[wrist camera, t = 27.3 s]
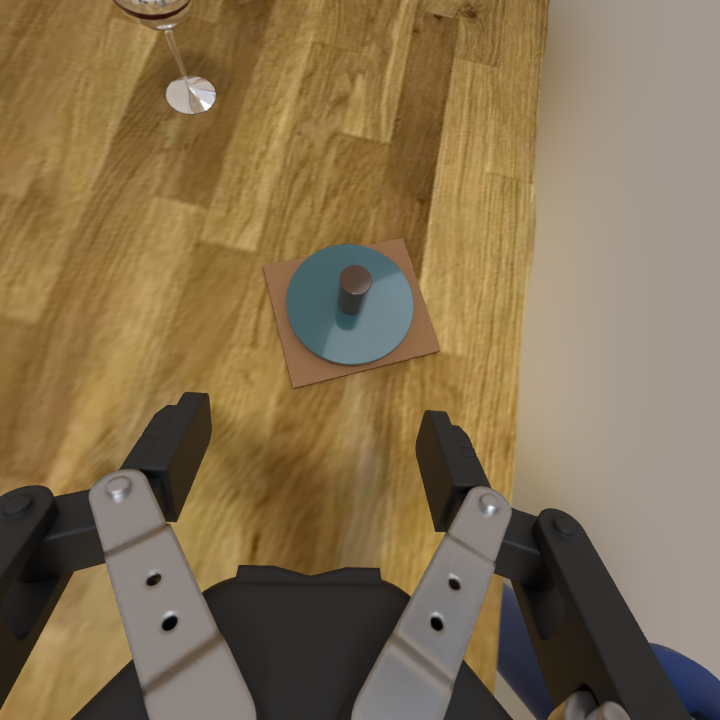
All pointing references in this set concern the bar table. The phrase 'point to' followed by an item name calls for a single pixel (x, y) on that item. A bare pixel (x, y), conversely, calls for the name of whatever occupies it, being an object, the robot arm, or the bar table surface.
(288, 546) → the bar table surface
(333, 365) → the mat
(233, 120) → the bar table surface
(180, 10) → the wineglass
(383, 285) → the lid with knob
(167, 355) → the bar table surface
